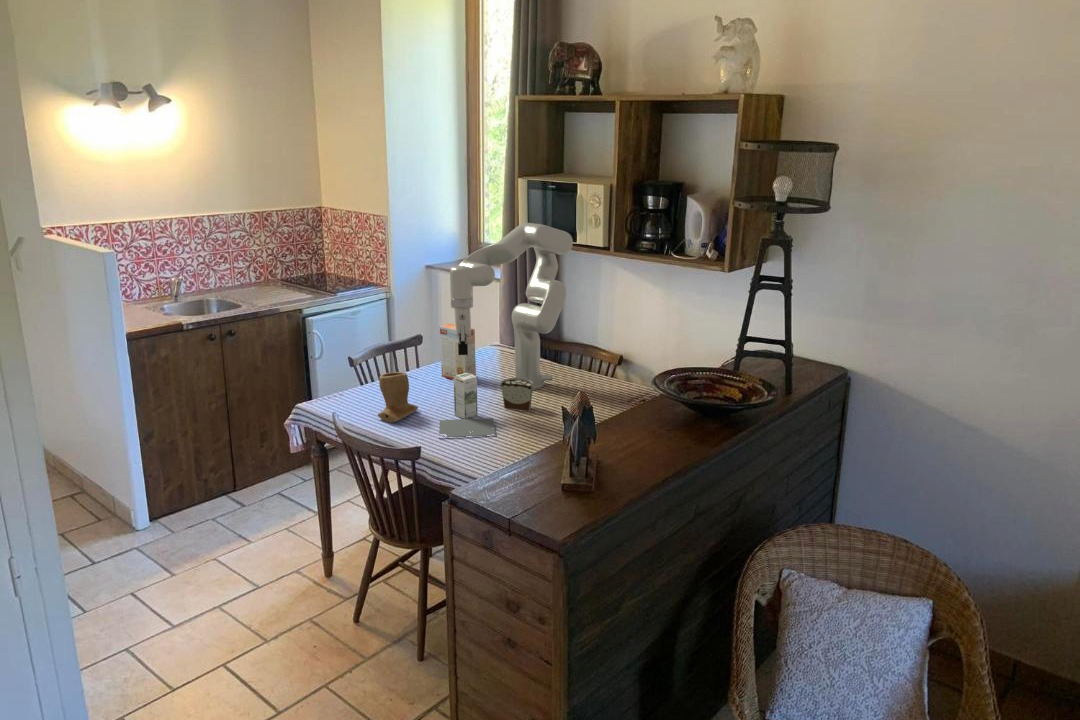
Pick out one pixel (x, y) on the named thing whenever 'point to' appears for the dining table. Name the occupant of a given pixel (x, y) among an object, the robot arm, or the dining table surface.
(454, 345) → the cracker box
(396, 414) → the stone cup
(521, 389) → the food container
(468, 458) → the dining table surface
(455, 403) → the syrup box
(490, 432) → the mat
